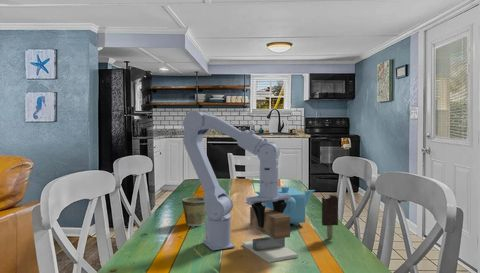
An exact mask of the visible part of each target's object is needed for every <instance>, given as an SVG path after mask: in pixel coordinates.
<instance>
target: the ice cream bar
mask: <svg viewBox="0 0 480 273" xmlns="http://www.w3.org/2000/svg"><path fill="white" fill-rule="evenodd" d="M321 225H322V226H323V227H325V226H326V228H327V230H326V233H327V234H326V237H327V239H328V240H331V239H332V238H333V229H334V228H333V226H338V225H339V197H338V196H337V195H335V194H329V195H328V197H321Z"/></svg>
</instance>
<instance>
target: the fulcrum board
mask: <svg viewBox="0 0 480 273" xmlns="http://www.w3.org/2000/svg"><path fill="white" fill-rule="evenodd" d="M285 239H286V238H280V239H274V238H272V237H270V236H266V237H259V238H254V239H253V238H252V240H248V241H242V245H241V246H243V247H244V248H246V249H247V250H249V251H250V252H252V254H255V255H256V256H257V257H259V258H260V259H262V260H263V261H265V262H266V263H274V262H279V261H280V262H281V261H286V260H292V259H296V258H299V253H297V252H295V251H293V250H291V249H290V248H288V247H286V240H285Z"/></svg>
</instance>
